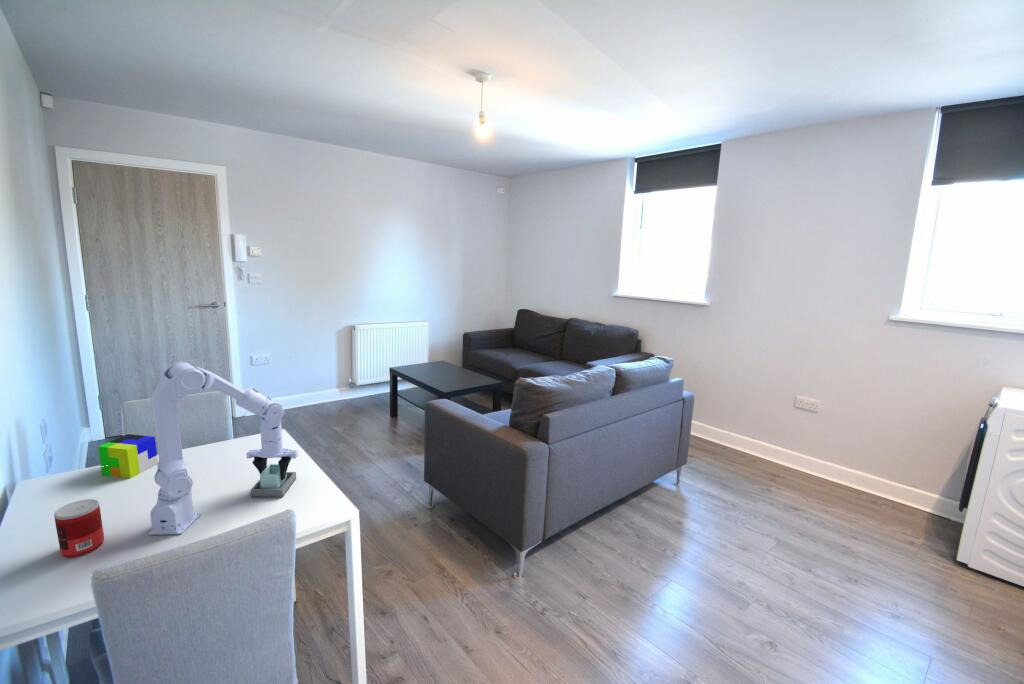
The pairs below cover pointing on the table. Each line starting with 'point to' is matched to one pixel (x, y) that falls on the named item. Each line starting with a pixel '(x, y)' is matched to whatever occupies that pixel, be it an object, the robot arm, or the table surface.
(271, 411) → the robot arm
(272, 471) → the small crate
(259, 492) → the gray tray
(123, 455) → the puzzle toy
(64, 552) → the canned food
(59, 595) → the table surface
